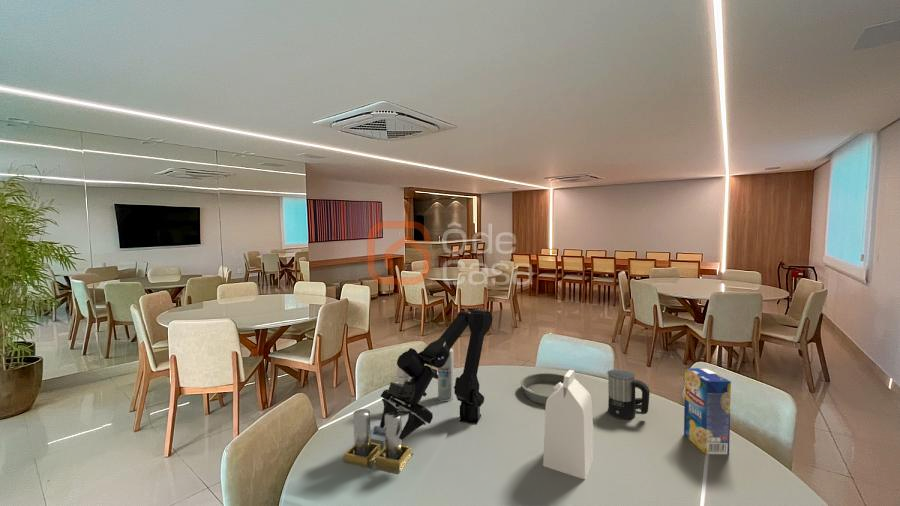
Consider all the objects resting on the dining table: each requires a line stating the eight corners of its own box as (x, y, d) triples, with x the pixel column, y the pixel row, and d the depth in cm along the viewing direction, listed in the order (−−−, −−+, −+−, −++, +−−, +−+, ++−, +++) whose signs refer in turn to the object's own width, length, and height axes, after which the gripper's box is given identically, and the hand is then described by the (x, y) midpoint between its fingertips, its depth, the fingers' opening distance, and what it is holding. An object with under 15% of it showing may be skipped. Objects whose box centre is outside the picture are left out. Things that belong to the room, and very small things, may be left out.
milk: (585, 479, 99) (585, 384, 97) (543, 465, 105) (543, 376, 103) (594, 456, 109) (594, 370, 108) (555, 445, 115) (555, 363, 114)
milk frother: (606, 416, 132) (607, 376, 132) (607, 398, 147) (607, 362, 146) (651, 424, 127) (652, 382, 126) (647, 404, 141) (647, 366, 140)
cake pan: (534, 378, 169) (534, 368, 169) (589, 391, 155) (590, 380, 154) (510, 397, 149) (510, 387, 149) (571, 414, 135) (571, 402, 134)
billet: (403, 453, 110) (402, 410, 109) (401, 463, 105) (400, 419, 104) (386, 453, 110) (385, 411, 109) (384, 463, 105) (383, 419, 104)
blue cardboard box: (705, 434, 120) (706, 368, 119) (729, 454, 109) (731, 381, 108) (683, 434, 120) (684, 368, 119) (705, 454, 109) (707, 381, 108)
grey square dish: (395, 437, 120) (395, 428, 120) (383, 450, 113) (383, 440, 113) (374, 433, 123) (374, 424, 123) (362, 446, 116) (362, 436, 116)
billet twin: (374, 452, 111) (373, 410, 110) (365, 461, 106) (364, 417, 105) (360, 449, 112) (359, 408, 112) (351, 458, 108) (350, 415, 107)
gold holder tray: (413, 456, 110) (413, 447, 110) (398, 477, 100) (398, 467, 100) (361, 446, 116) (361, 437, 116) (342, 465, 106) (342, 455, 106)
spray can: (435, 400, 147) (434, 351, 146) (441, 393, 153) (441, 346, 152) (450, 403, 145) (449, 353, 144) (456, 396, 151) (455, 348, 150)
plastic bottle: (412, 415, 135) (411, 361, 134) (394, 413, 137) (393, 360, 136) (417, 407, 142) (416, 355, 141) (400, 405, 143) (399, 355, 142)
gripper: (384, 363, 116) (355, 410, 108) (424, 379, 103) (393, 433, 95) (404, 381, 122) (377, 426, 114) (444, 397, 109) (417, 450, 101)
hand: (390, 433), depth 106 cm, fingers open, 9 cm apart
